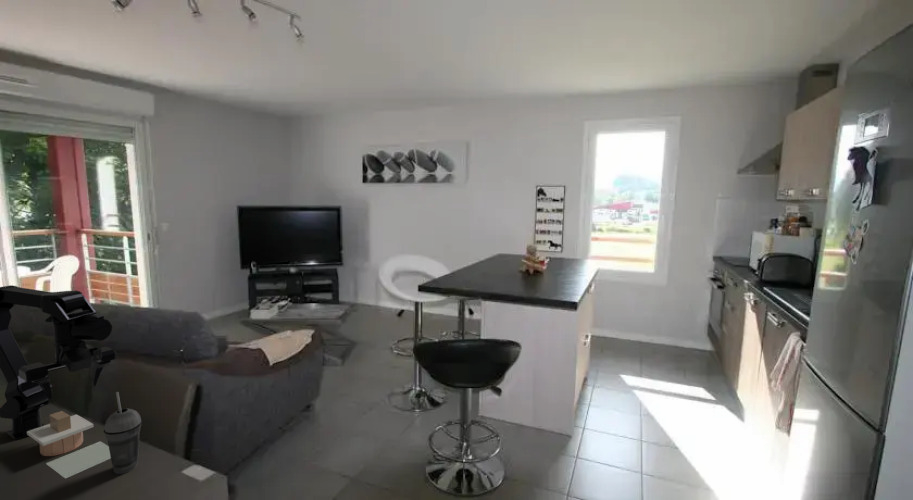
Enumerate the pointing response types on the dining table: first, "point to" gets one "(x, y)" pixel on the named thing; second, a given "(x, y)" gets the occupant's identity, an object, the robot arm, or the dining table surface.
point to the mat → (81, 459)
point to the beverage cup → (123, 438)
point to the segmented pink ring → (62, 445)
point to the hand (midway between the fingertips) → (72, 392)
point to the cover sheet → (54, 436)
